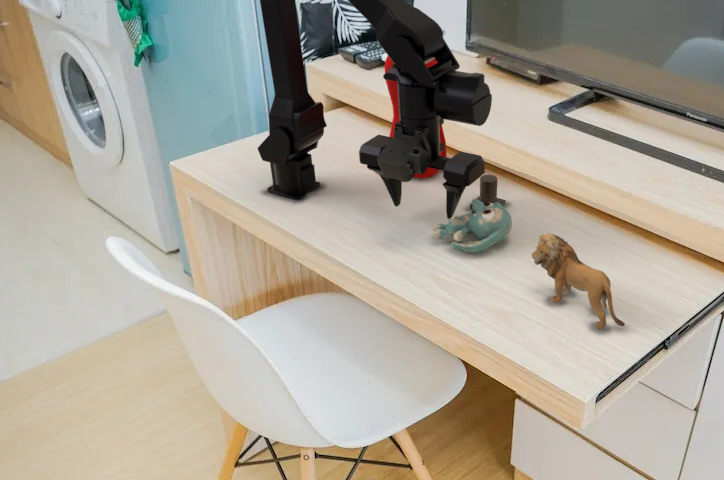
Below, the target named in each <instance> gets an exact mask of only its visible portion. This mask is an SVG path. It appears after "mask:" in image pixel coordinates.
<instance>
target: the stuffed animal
mask: <svg viewBox="0 0 724 480" xmlns="http://www.w3.org/2000/svg"><path fill="white" fill-rule="evenodd" d="M471 203H472V205H473V207H472V208H473V209H474V210H473V209H472V210H471V212H469V213H466V214H463V215H459V216H458V215H455V216H454V217H452V218H451V219H448V222H447V223H446V224H444V223H438V224H434V225H433V227H432V231H433V233H432V237H433V238H434V239H435V240H436V241H437V240H443V239H444V238H447V237H448V236H449V237H450V238H453V240H454V241H452V242H451V246H452V248H453V249H455V250H458V251H461V252H464V253H472V254H477V253H481V252H483V251H485V250H486V249H489V248H490V247H492V246H493V245H495V244H496V243H499V242H502V241H505V240H506V238H507V237H508V236H510V233H511V231H512V227H513V217H512V215H511V213H510V212H509V211H508V210H507V208H506V207H504V206H502V205H501V204H500V203H498V202H496V203H489V202H486V203H483V202H481V201H480V200H477V198H475V199H472V200H471ZM473 234H474V235H475V236H476V237H477V238H478V240H467V241H462V240H463V239H464V238H465V236H466V235H473Z"/></svg>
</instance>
